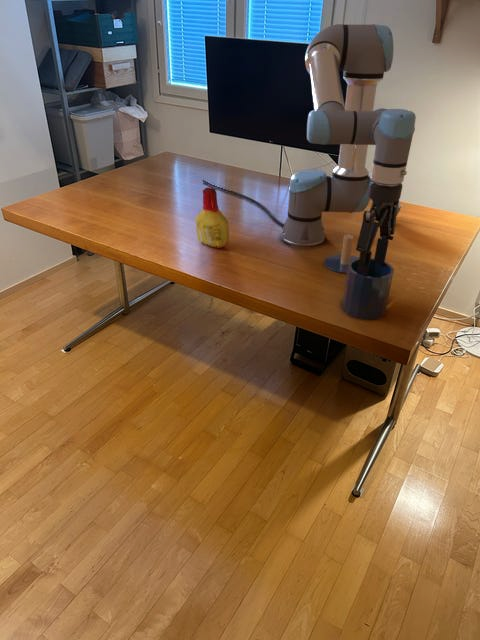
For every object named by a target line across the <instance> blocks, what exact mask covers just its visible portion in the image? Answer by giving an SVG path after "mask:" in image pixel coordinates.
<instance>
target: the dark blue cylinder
mask: <svg viewBox="0 0 480 640" xmlns="http://www.w3.org/2000/svg"><path fill="white" fill-rule="evenodd" d="M358 263H359V257H358V259H354V260H352V261H351V262H349V264H348V269H347V274H346V277H345V282H344V283H345V284H344V290H343V296H342V303H341V306H342V307H341V308H342V310H343V311H344V313H346V314H347V315H349V316H351V317H353V318H355V319H358V320H359V319H360V320H367V321H369V320H370V321H371V320H376V319H380V318H382V317H383V316H384V315H385V314H386V310H387V306H388V301H389V296H390V291H391V287H392V282H393V277H394V272H395V268H394V267H393V266H392V264H390V263H389V262H387V261H385V262H384V264H381V263H378V262H375V261H374V257H371V260H370V266H369V271H368V275H367V276H365V275H362V274H359V273H357V269H358Z"/></svg>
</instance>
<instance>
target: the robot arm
mask: <svg viewBox="0 0 480 640" xmlns="http://www.w3.org/2000/svg"><path fill="white" fill-rule="evenodd" d="M393 36H394V35H393V32H392V29H391V28H390V27H389V26H388V25H383V24H375V23H372V24H344V23H342V24H341V23H335V24H331V25H329V26H327V27H325V28H323V29H322V30H320V31H319V32H318V33H317V34H315V36H314V37H312V39H311V40H310V42H309V44H308V45H307V48H306V52H305V55H304V62H305V63H304V64H305V69H306V71H307V73H308V74H309V76H310V85H311V95H312V103H313V104H312V105H313V110H311V111H309V113H308V115H307V121H306V140H307V141H308V143H310V144H316V145H322V146H325V145H339V155H338V163H337V166H335V167H334V168H333V169H332V175H327V173H326V171H324V170H322V169H305V170H300V171H298V172H296V173H294V174H293V175H292V176H291V177H290V180H289V186H288V205H287V217H286V220H285V222H284V223H283V222H281V220H278V219H277V218H276V217H275V216H274V215H273V214H272V213H271V212H270V211H269V209H268V208H266V206H264V205H263V204H262V203H261V202H259V201H257V200H255V199H253V198H252V197H249V196H247V195H246V194H243V193H240V192H236V191H235V190H231V191H229V190H230V189H228V190H226V189H227V188H225V189H223V188H224V187H222V188H220V187H221V186H220V187H217V186H218V185H217V186H215V185H216V184H214V185H212V184H213V183H212V184H210V183H211V182H210V183H208V182H209V181H207V180H205V179H202V182H203V183H205V184H207V185H209V186H212V188H215V189H216V188H217V189H219V190H222V191H225V192H228V193H229V194H230V193H231V194H233V195H236V196H238V197H241V198H244V199H247V200H248V201H250V202H253V203H254V204H256V205H257V206H259V207H260V208H261V209H262V210H264V211H265V212H266V213H267V215H268V216H269V217H270V218H271V219H272V220H273V221H274V222H275V223H276V224H278V225H280V226H282V229H281V232H280V239H281V241H282V242H283V243H284V244H286V245H288V246H295V247H300V248H301V247H302V248H308V247H309V248H310V247H315V246H319V245H322V244H323V243H324V242H325V236H326V235H325V227H324V224H323V221H322V217H323V213H348V214H352V213H361V212H363V215H362V222H361V227H360V231H359V235H358V238H357V243H356V247H355V251H357V252H359V257H358V258H359V263H358V269H357V273H359V274H362V275H365V276H367V275H368V271H369V266H370V260H371V258H372V255H373V251H371V250H372V248H373V247H372V246H374V245H373V244H374V242H375V239H376V236H377V233H378V231H379V237H378V238H377V241H376V248H375V253H374V257H373V258H374V261H375V262H378V263H381V264H384V262H386V256H387V252H388V247H389V242H390V241H393V240H394V239H395V238H394V235H395V231H396V223H397V216H398V215H397V208H398V204H399V203H400V199H401V196H402V191H403V184H402V183H404V180H405V179H404V178H405V176H406V175H407V174H408V171H407V170H406V169H407V165H408V160H409V156H410V152H411V151H410V150H411V147H412V141H413V137H414V133H415V131H416V119H417V115H416V113H415V112H414V111H412V110H408V109H404V108H381V107H379V108H376V109H374V107H375V102H376V101H375V100H376V94H377V88H378V87H377V86H378V85H379V83H381V82H382V80H384V75H385V73H387V72H389V71H390V70H391V68H392V64H393V60H394V37H393ZM340 72H343V74H342V79H343V80H344V81H345V82H346V84H347V85H346V92H345V93H346V95H345V101H344V95H343V89H342V83H341V77H340ZM369 146H375V149H374V154H373V161H372V166H371V172H369V170H368V169H367V168H366V163H367V156H368V149H369ZM204 180H205V181H204ZM206 181H207V182H206ZM371 200H372V203H371V206H370V208H369V210H368V211H367V210H366V209H367V207H368V206H369V204H370V201H371ZM396 215H397V216H396ZM377 221H378V222H377Z"/></svg>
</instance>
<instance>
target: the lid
mask: <svg viewBox="0 0 480 640" xmlns="http://www.w3.org/2000/svg"><path fill="white" fill-rule="evenodd" d="M354 238H355V236H354V235H352V234H344V235H343V239H342V246H341V253H336V254H331V255H329V256H327V257H326V258H325V259H324V266H325V267H326V268H327V269H328V270H330V271H332V272H334V273H337V274H341V275H343V274H344V275H347V269H348V264H349V262H351V261H352V260H354V259H358V258H359V257H358V256H356V255H353V254H352V251H353V245H354Z"/></svg>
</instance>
